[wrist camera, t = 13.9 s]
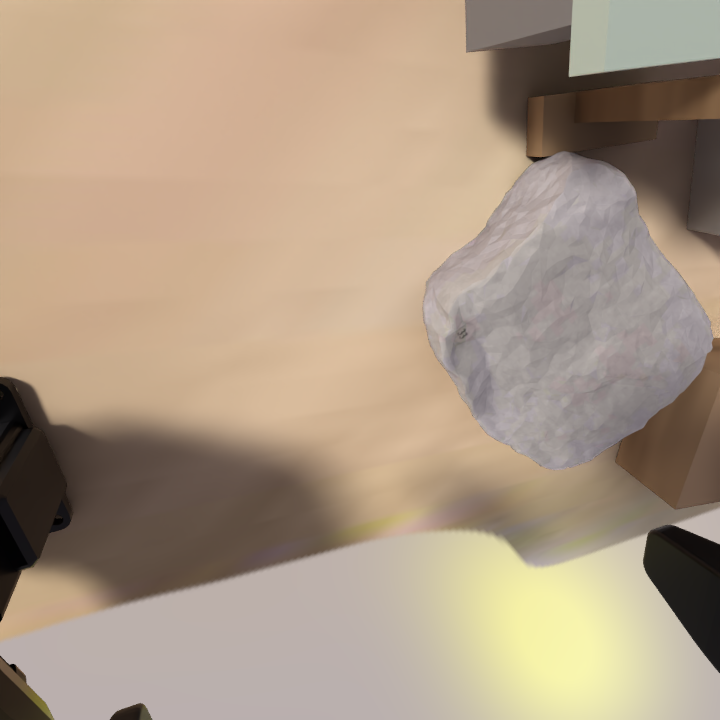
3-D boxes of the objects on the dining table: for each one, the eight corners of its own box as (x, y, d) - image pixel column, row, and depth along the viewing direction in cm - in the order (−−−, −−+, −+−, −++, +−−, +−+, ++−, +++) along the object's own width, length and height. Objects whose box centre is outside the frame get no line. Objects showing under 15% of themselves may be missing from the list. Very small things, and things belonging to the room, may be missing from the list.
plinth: (615, 462, 28) (675, 509, 24) (650, 342, 25) (723, 376, 22) (714, 448, 30) (782, 490, 26) (757, 335, 27) (839, 366, 24)
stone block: (514, 437, 28) (680, 318, 25) (551, 502, 24) (755, 369, 21) (368, 294, 23) (557, 125, 20) (383, 346, 19) (624, 142, 16)
